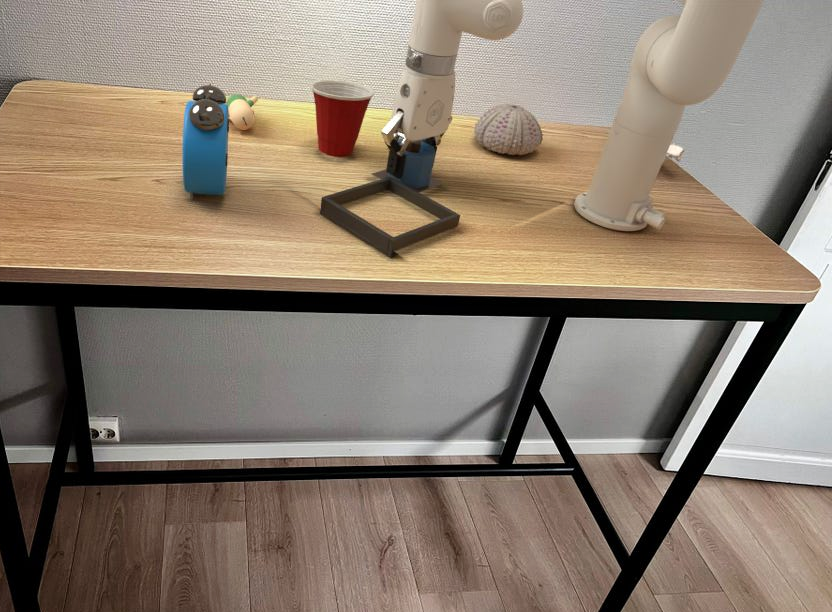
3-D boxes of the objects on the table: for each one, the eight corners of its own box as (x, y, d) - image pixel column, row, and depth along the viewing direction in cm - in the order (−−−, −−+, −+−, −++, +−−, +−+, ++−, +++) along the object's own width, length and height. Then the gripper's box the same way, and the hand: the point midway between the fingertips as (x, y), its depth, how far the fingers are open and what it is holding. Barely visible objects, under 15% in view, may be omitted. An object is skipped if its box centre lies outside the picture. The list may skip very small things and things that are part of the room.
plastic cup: (353, 141, 135) (362, 76, 127) (372, 167, 127) (383, 98, 120) (297, 141, 131) (303, 74, 124) (313, 167, 123) (320, 97, 116)
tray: (456, 231, 112) (460, 215, 110) (390, 258, 103) (393, 240, 101) (387, 192, 120) (389, 176, 118) (319, 213, 111) (321, 196, 109)
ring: (436, 182, 123) (443, 151, 120) (409, 191, 119) (415, 159, 115) (406, 166, 127) (412, 136, 123) (379, 174, 122) (384, 143, 119)
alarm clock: (189, 170, 116) (189, 75, 107) (228, 174, 117) (231, 79, 108) (182, 209, 106) (181, 107, 97) (225, 212, 107) (228, 111, 98)
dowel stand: (443, 188, 124) (453, 146, 119) (408, 200, 118) (417, 156, 114) (405, 168, 128) (413, 126, 124) (369, 179, 123) (376, 135, 118)
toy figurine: (220, 121, 139) (229, 143, 130) (210, 99, 136) (218, 120, 127) (259, 104, 139) (271, 124, 130) (250, 81, 136) (261, 101, 127)
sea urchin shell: (459, 144, 141) (468, 103, 136) (488, 128, 150) (498, 89, 145) (521, 167, 136) (533, 125, 131) (547, 148, 145) (560, 109, 140)
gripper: (410, 76, 104) (390, 190, 115) (484, 62, 114) (458, 168, 125) (373, 60, 108) (357, 172, 118) (448, 48, 118) (426, 152, 129)
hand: (409, 169), depth 122 cm, fingers closed on ring, 7 cm apart
